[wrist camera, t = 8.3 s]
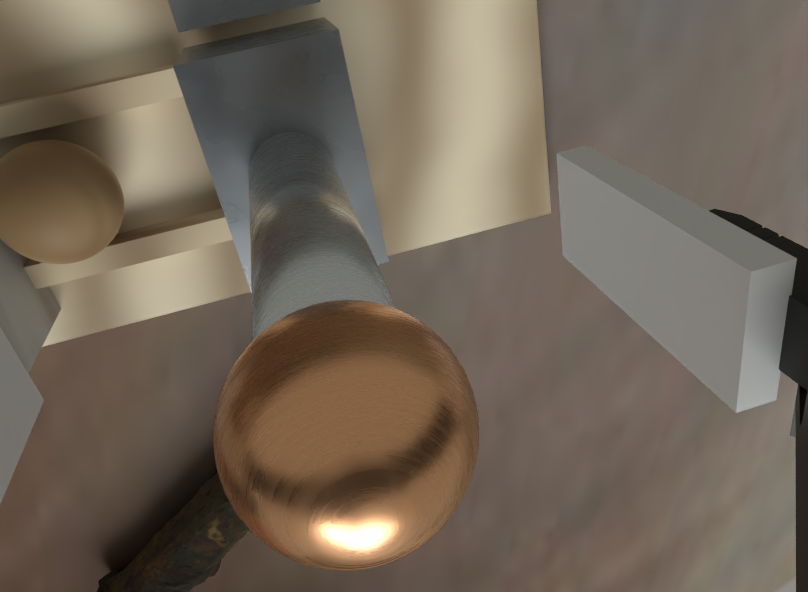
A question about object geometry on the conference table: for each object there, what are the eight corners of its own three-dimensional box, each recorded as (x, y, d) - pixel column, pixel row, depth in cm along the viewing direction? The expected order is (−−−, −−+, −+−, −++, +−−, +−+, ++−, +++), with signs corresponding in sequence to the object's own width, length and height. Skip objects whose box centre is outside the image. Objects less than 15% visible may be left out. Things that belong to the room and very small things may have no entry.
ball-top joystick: (265, 282, 28) (301, 810, 11) (164, -20, 22) (-111, 92, 5) (375, 254, 29) (574, 715, 11) (306, -50, 23) (513, -44, 5)
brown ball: (43, 245, 26) (2, 298, 22) (-11, 140, 24) (-67, 178, 20) (151, 221, 26) (129, 268, 22) (107, 114, 24) (75, 147, 20)
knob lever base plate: (-53, 355, 29) (-154, 495, 21) (-254, 53, 22) (-499, 105, 15) (538, 202, 31) (627, 278, 24) (514, -107, 25) (627, -129, 18)
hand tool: (158, 592, 39) (150, 667, 35) (98, 569, 37) (82, 646, 33) (377, 383, 35) (396, 440, 31) (323, 345, 33) (335, 400, 29)
